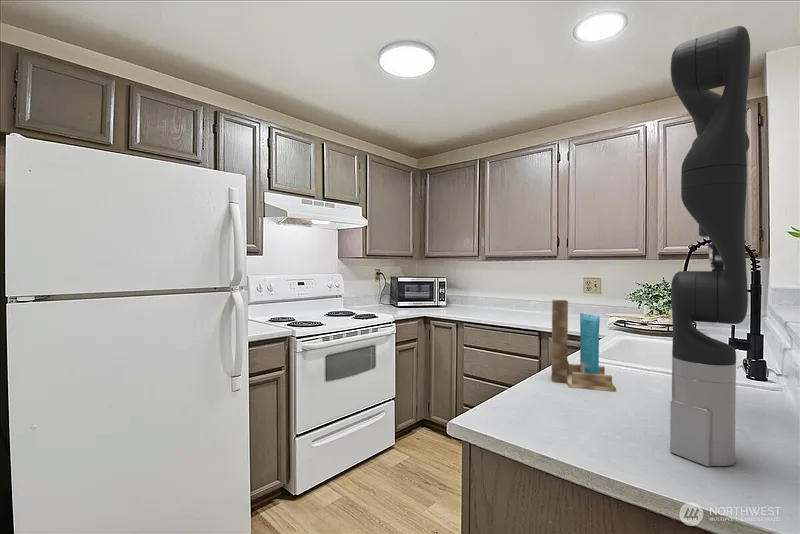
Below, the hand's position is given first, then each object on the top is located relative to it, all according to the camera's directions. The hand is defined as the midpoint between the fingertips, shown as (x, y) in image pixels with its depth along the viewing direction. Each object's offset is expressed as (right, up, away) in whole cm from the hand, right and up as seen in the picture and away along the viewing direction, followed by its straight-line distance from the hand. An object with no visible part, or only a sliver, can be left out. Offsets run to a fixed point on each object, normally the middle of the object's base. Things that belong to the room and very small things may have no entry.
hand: (718, 284), depth 94 cm
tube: (-20, -29, +22) cm, 42 cm away
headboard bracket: (-22, -30, +23) cm, 44 cm away
